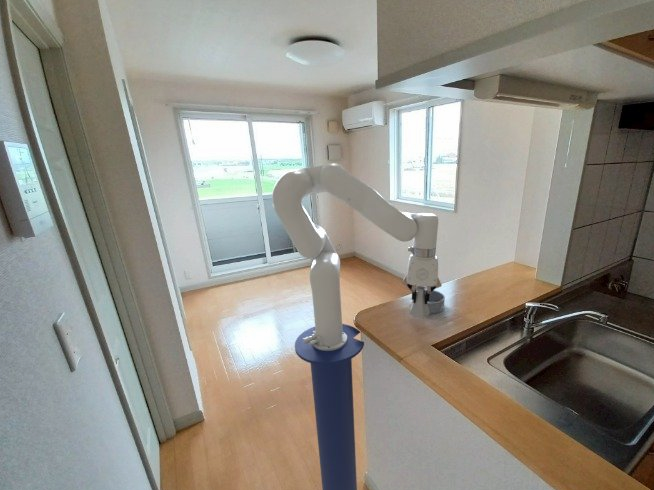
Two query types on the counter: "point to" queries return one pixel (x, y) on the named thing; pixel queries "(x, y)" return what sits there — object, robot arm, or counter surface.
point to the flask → (420, 304)
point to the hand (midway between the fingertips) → (420, 301)
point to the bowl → (435, 302)
